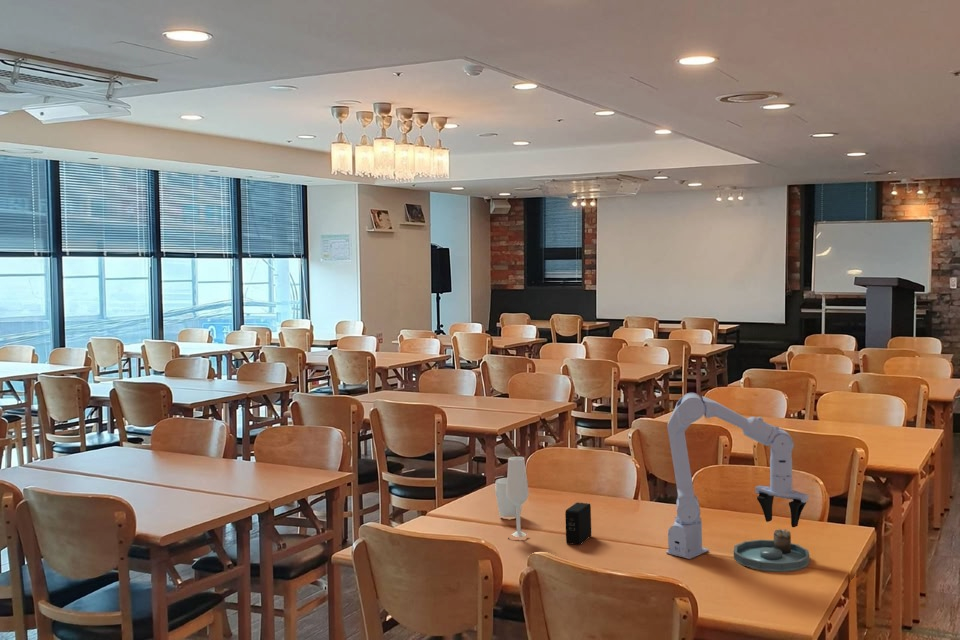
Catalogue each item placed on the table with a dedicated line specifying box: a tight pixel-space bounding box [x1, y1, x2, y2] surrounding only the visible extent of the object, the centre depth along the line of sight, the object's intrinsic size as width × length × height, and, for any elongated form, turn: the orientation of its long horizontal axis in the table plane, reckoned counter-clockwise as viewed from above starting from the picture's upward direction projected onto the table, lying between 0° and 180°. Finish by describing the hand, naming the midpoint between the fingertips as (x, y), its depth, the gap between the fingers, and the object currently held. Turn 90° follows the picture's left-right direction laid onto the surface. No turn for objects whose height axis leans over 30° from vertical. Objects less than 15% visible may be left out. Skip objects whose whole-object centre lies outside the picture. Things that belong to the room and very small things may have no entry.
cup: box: [494, 477, 523, 517], centre depth 291 cm, size 9×9×12 cm
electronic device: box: [564, 502, 592, 546], centre depth 265 cm, size 4×10×10 cm, turn 152°
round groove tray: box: [733, 539, 810, 573], centre depth 243 cm, size 19×19×2 cm
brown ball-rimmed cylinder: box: [773, 528, 792, 554], centre depth 247 cm, size 4×4×6 cm
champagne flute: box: [506, 456, 530, 537], centre depth 269 cm, size 7×7×24 cm
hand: (781, 523), depth 246 cm, fingers open, 7 cm apart
